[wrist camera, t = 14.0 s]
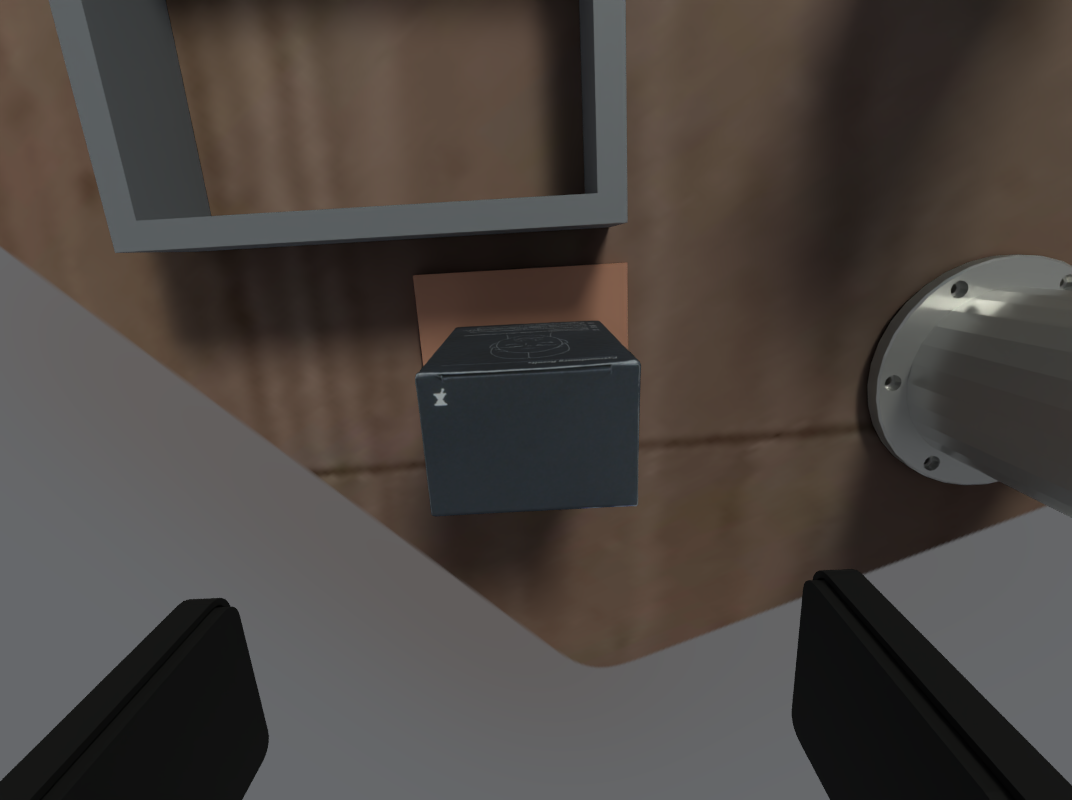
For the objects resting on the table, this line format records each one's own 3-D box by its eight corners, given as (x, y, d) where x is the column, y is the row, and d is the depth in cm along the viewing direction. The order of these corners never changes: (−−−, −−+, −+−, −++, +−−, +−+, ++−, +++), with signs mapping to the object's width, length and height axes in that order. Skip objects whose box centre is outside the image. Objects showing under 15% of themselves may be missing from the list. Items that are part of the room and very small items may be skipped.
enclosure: (602, -175, 23) (622, -302, 18) (609, 227, 27) (627, 222, 22) (107, -142, 23) (-19, -257, 18) (195, 251, 28) (115, 252, 22)
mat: (625, 262, 28) (627, 262, 27) (627, 458, 31) (628, 462, 30) (415, 274, 28) (412, 275, 27) (437, 469, 31) (435, 473, 30)
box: (463, 426, 30) (426, 520, 19) (454, 325, 28) (409, 369, 18) (604, 420, 30) (642, 511, 19) (603, 318, 28) (643, 358, 18)
